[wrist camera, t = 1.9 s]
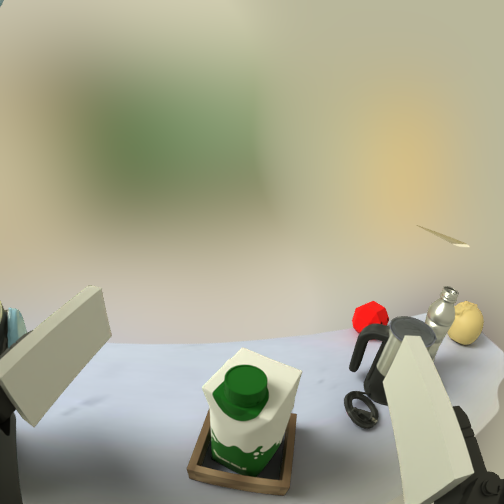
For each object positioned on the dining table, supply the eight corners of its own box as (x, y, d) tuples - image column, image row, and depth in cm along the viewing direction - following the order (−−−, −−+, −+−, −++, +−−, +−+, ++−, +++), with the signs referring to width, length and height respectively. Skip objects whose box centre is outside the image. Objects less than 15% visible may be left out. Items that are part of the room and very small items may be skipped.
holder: (189, 478, 28) (186, 468, 26) (212, 413, 40) (212, 400, 38) (284, 495, 26) (289, 487, 24) (292, 427, 38) (296, 413, 36)
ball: (368, 346, 58) (378, 319, 55) (344, 329, 64) (352, 303, 62) (386, 334, 62) (396, 309, 59) (363, 319, 68) (371, 295, 66)
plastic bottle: (404, 377, 48) (442, 296, 40) (402, 357, 54) (433, 280, 46) (429, 380, 46) (469, 301, 38) (425, 361, 52) (458, 285, 44)
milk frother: (401, 375, 48) (428, 318, 43) (412, 433, 34) (454, 375, 29) (339, 368, 51) (360, 309, 46) (338, 430, 37) (369, 370, 32)
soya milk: (202, 460, 31) (191, 373, 24) (235, 422, 38) (242, 327, 31) (256, 488, 27) (278, 415, 20) (284, 444, 35) (314, 354, 27)
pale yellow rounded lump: (453, 322, 66) (466, 291, 62) (479, 342, 56) (495, 310, 52) (434, 331, 63) (448, 297, 59) (462, 354, 52) (480, 320, 48)
